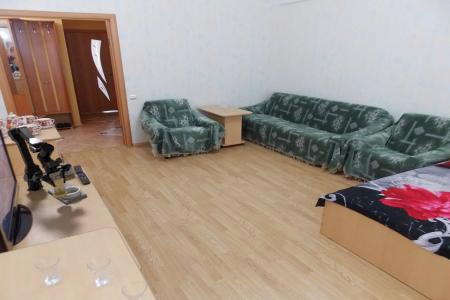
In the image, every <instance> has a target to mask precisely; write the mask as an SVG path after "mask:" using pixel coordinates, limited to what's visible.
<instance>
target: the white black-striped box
mask: <svg viewBox="0 0 450 300" xmlns="http://www.w3.org/2000/svg"><path fill="white" fill-rule="evenodd" d="M67 163H68V162H65V163H60V165H58V167H57V168H61V166H62V165H64V164H67ZM69 164H70V165H71V166H72V167H71V168H70V170H69V171H67V172H65V177H66V176H69V175H74V174H75V172H74V169H73V165H72V164H71V163H69ZM59 174H60V173H59V172H56V173H53V174H50V175H49V176H50V178H51V179H53V178H55V176H57V175H59ZM59 177H60V176H59Z"/></svg>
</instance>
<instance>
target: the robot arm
mask: <svg viewBox="0 0 450 300" xmlns="http://www.w3.org/2000/svg"><path fill="white" fill-rule="evenodd" d="M7 136H8V137H9V138H10V140H11V141H12V142H14V143H15V144H16V146H17V149H18V152H19V153H20V154H19V155H20V156H21V159H22V161H23V164H24V165H25V166H24V170H23V172H24V174H23V177H22V179H23V181H24V182H26V183H27V187H28V188H27V189H26V190H27V191H34V192H35V191H38V190H40V189H41V188H43V187H44V184H43V183H42V182H45V183H46V184H49V185H50V186H51V187H52V188H54V187H55V185H54V183H53V181H52V178H50V176H49V175H50V174H53V173H56V172H59V173H60V174H59V176H60V177H63V180H64V184H66V176H65V172H67V171H69V170H70V168H71V167H72V168H73V165H72V164H71V163H68V162H66V163H67V164H64V163H63V159H62V158H61V157H56V159H55V160H54V158H53V159H52V157H51V156H53V153H54V151H55V146H54V145H53V144H52V143H48V142H47V141H44V140H42V139H40V138H37V137H36V136H35V135H34V134H33V133H32V132H31V131H30V130H29V128H28V127H27V125H19V126H16V127H12V128H9V129H8V130H7ZM31 153H33V154H37V155H36V159H37V160H38V161H39V163H40V164H37V163H35V162H34V159H33V157H32V154H31ZM60 164H64V165H62V166H61V168H57V167H58V165H60ZM70 164H71V165H72V166H71V165H70ZM40 165H41V167H40ZM42 169H43V170H44V172H43V170H42Z"/></svg>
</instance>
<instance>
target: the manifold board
mask: <svg viewBox="0 0 450 300" xmlns="http://www.w3.org/2000/svg"><path fill="white" fill-rule="evenodd" d="M64 186H65V190H66V191H67V195H66V196H65V197H62V198H57V199H58V200H59V201H61V202H62V203H63V204H66V205H68V204H70V202H71V203H72V202H76V201H79V200H81V199H84V198H86V197H87V196H88V195H87V193H86V192H84V191H82V190H81V187H79V186H73V185H72V184H71V183H69V182H67V183H65V184H64ZM47 193H48V194H51V195H52V196H53V193H55V192H54V187H51V188H48V189H47ZM75 200H76V201H75Z"/></svg>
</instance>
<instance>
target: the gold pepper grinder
mask: <svg viewBox="0 0 450 300" xmlns="http://www.w3.org/2000/svg"><path fill="white" fill-rule="evenodd" d="M51 180H52V181H53V183H54V185H55V187H53V188H54V192H55V193H53V195H52V196H53V198H56V199H58V198H62V197H65V196H66V195H67V191H66V190H65V186H64V180H63V177H59V175H57V176H55V178H51Z"/></svg>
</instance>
